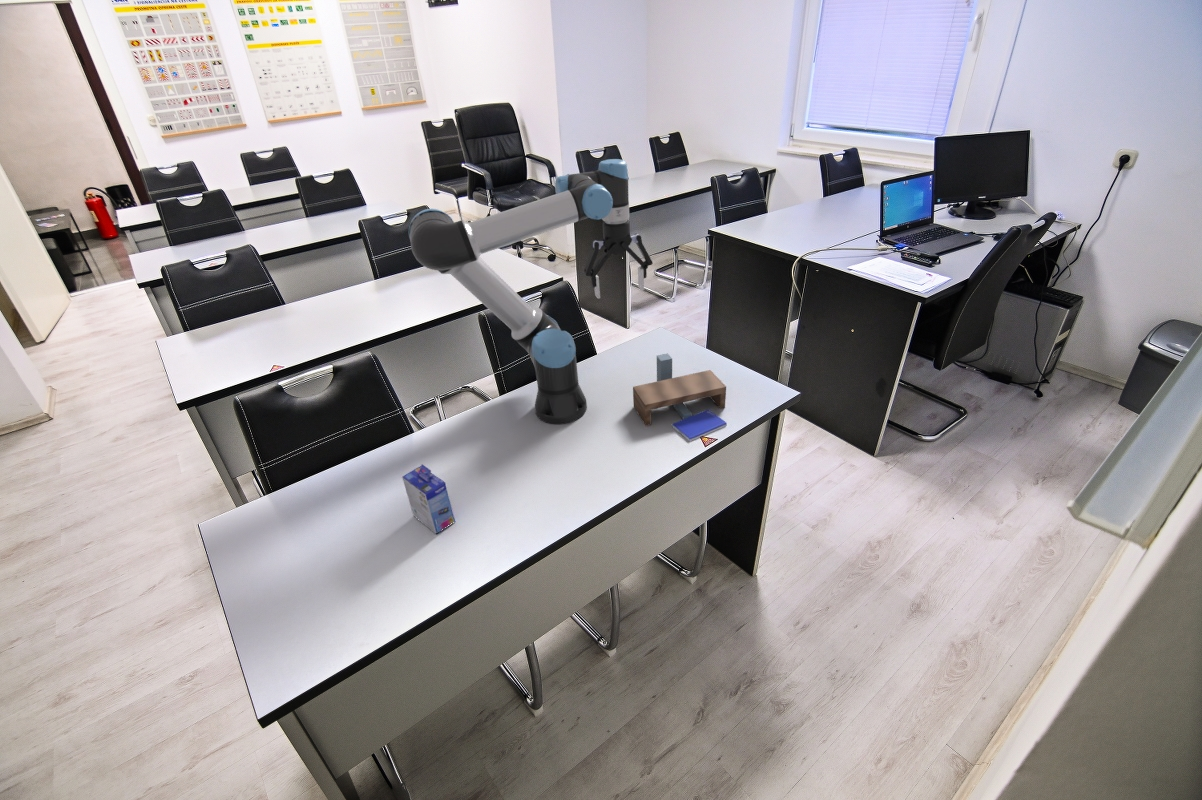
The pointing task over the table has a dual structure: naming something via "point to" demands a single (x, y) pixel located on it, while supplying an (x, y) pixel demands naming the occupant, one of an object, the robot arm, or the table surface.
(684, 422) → the blue flat slab
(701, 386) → the bench
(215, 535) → the table surface
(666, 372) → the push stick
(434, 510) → the ink cartridge box
